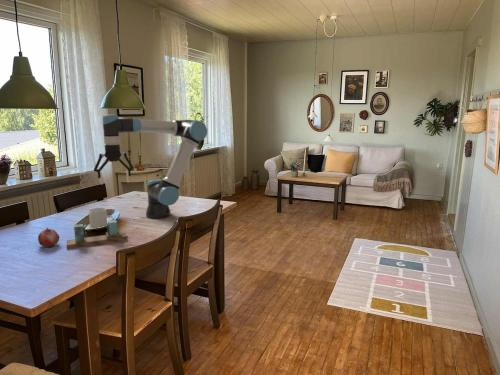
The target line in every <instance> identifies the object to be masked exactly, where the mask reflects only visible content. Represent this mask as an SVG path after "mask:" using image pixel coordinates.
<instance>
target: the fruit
mask: <svg viewBox="0 0 500 375" xmlns="http://www.w3.org/2000/svg"><path fill="white" fill-rule="evenodd" d="M37 241H38V243H39V245H40V246H43V247H45V248H51V247H53V246H55V245H56V244H58V242H60V235H59V234H58V232H57V231H56V230H54V229H51V228H48V227H46V229H44V230H42V231H41V232H39V234H38V236H37Z"/></svg>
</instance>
